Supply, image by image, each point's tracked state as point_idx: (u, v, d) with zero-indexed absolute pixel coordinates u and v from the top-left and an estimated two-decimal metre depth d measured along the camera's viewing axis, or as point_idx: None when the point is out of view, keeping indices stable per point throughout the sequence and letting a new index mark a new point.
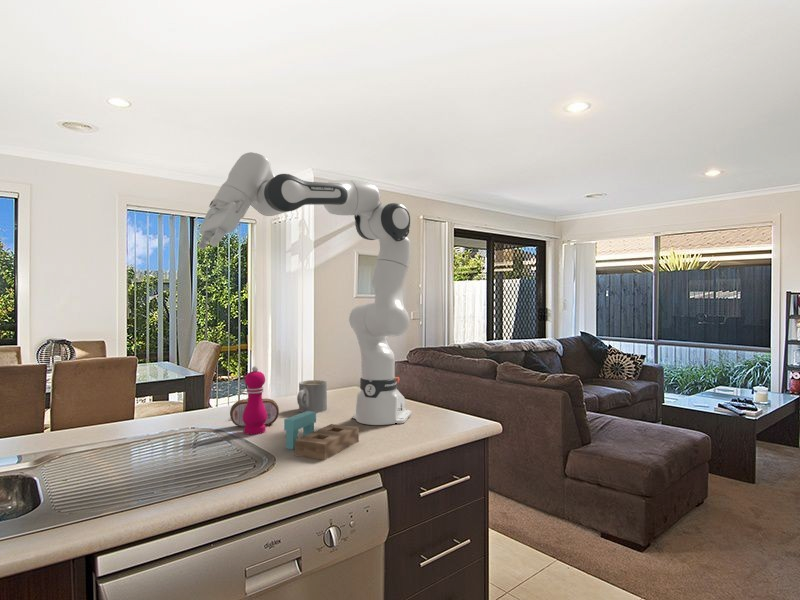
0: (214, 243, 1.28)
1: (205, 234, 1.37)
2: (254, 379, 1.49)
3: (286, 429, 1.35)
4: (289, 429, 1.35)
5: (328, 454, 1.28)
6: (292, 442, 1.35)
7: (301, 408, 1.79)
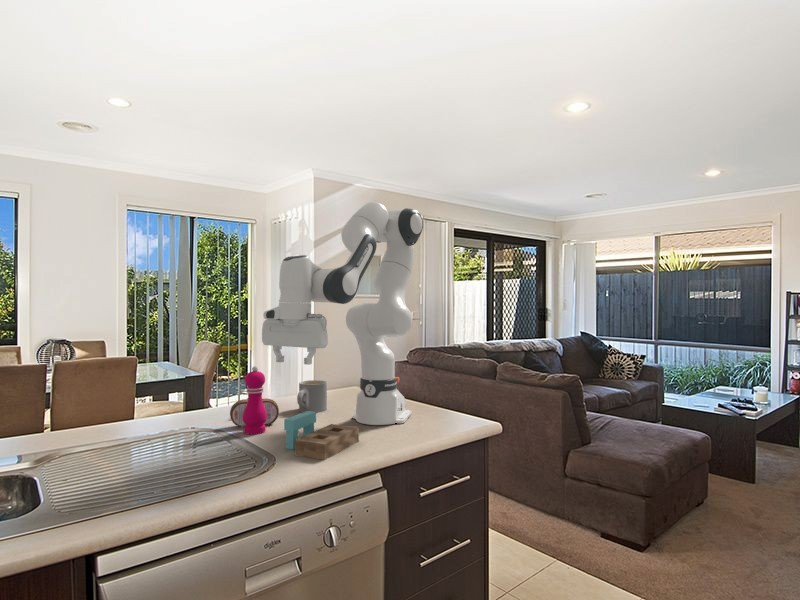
0: (310, 362, 1.36)
1: (278, 347, 1.40)
2: (254, 379, 1.49)
3: (286, 429, 1.35)
4: (289, 429, 1.35)
5: (328, 454, 1.28)
6: (292, 442, 1.35)
7: (301, 408, 1.79)
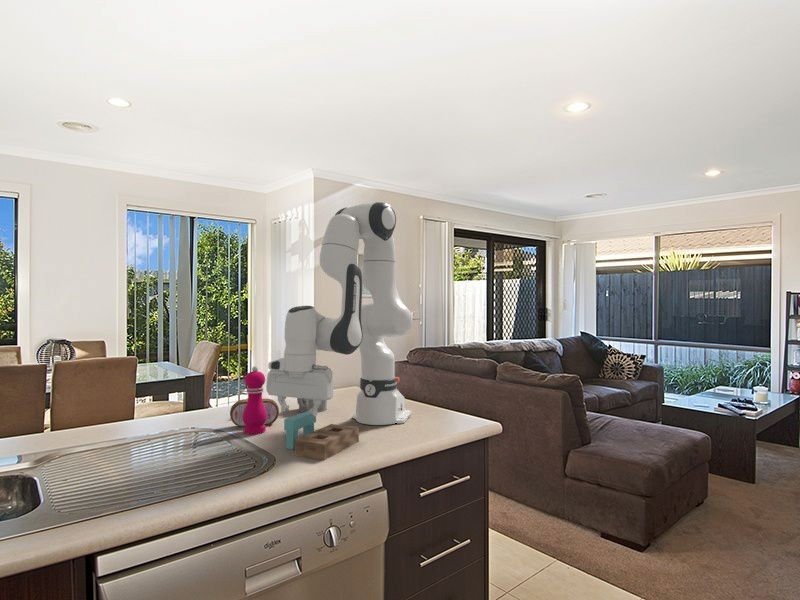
0: (315, 413, 1.37)
1: (282, 397, 1.41)
2: (254, 379, 1.49)
3: (286, 429, 1.35)
4: (289, 429, 1.35)
5: (328, 454, 1.28)
6: (292, 442, 1.35)
7: (301, 408, 1.79)
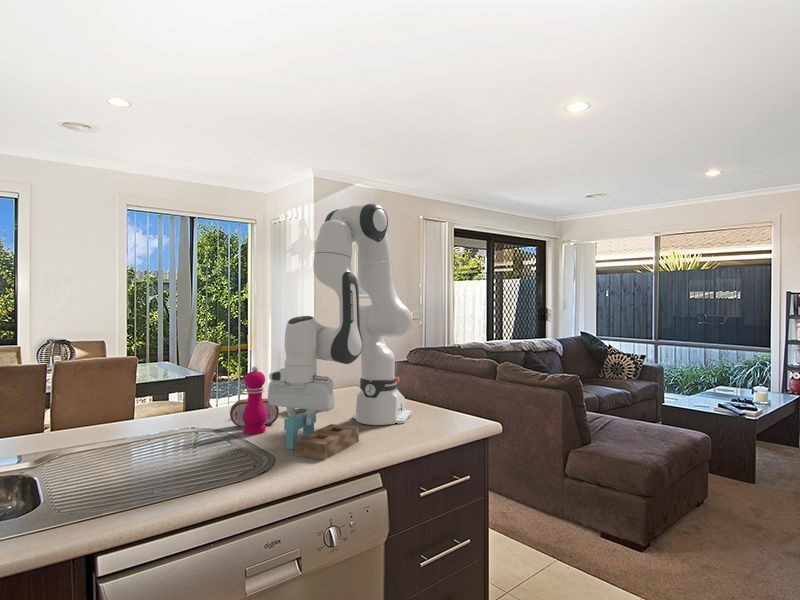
0: (309, 422, 1.39)
1: (291, 409, 1.40)
2: (254, 379, 1.49)
3: (286, 429, 1.35)
4: (289, 429, 1.35)
5: (328, 454, 1.28)
6: (292, 442, 1.35)
7: None
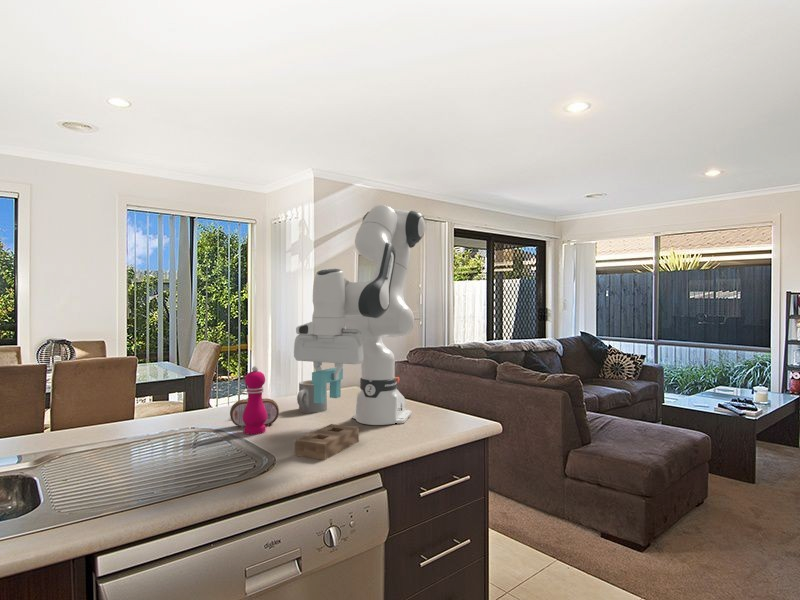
0: (337, 377, 1.35)
1: (318, 363, 1.37)
2: (254, 379, 1.49)
3: (314, 382, 1.31)
4: (317, 382, 1.31)
5: (328, 454, 1.28)
6: (320, 396, 1.31)
7: (301, 408, 1.79)
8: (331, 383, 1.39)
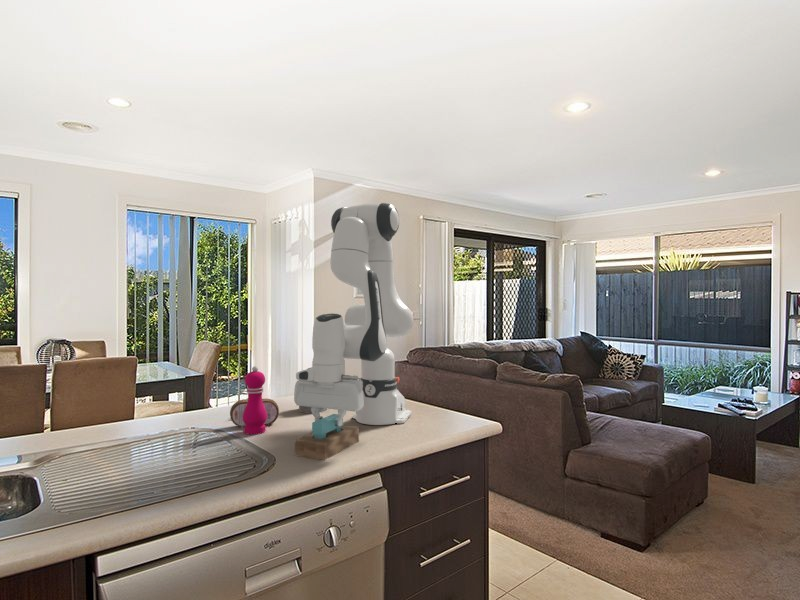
0: (341, 423, 1.35)
1: (316, 408, 1.37)
2: (254, 379, 1.49)
3: (314, 433, 1.31)
4: (317, 433, 1.31)
5: (328, 454, 1.28)
6: None
7: (301, 408, 1.79)
8: (331, 430, 1.39)
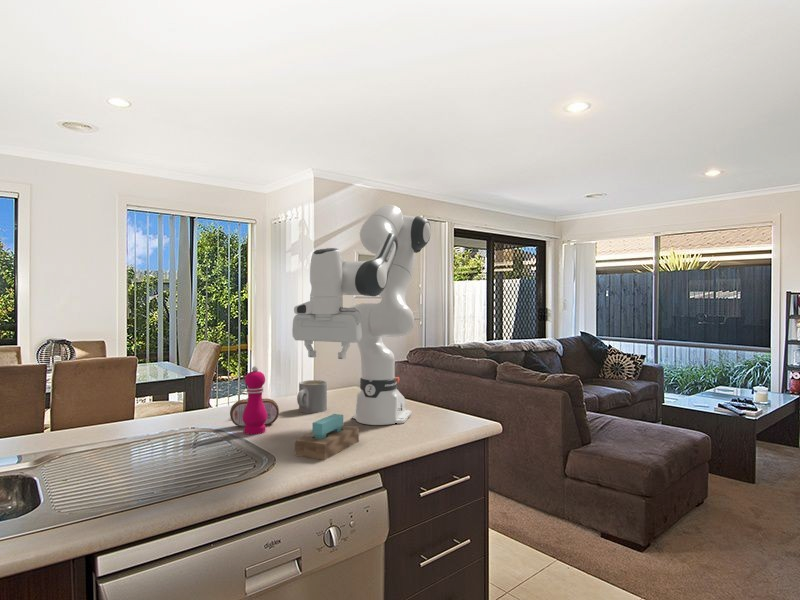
0: (344, 356, 1.35)
1: (309, 342, 1.38)
2: (254, 379, 1.49)
3: (314, 433, 1.31)
4: (318, 433, 1.31)
5: (328, 454, 1.28)
6: None
7: (301, 408, 1.79)
8: (332, 430, 1.39)
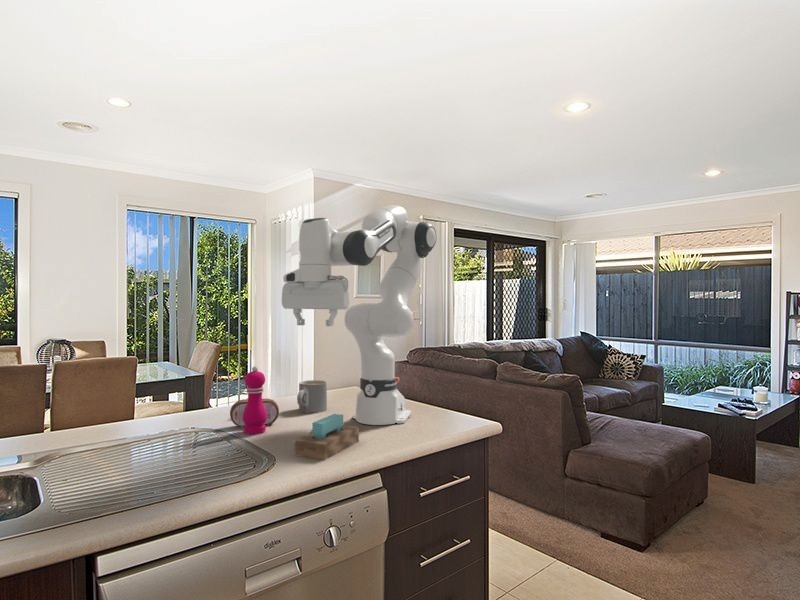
0: (332, 324, 1.37)
1: (298, 311, 1.41)
2: (254, 379, 1.49)
3: (314, 433, 1.31)
4: (318, 433, 1.31)
5: (328, 454, 1.28)
6: None
7: (301, 408, 1.79)
8: (332, 430, 1.39)
